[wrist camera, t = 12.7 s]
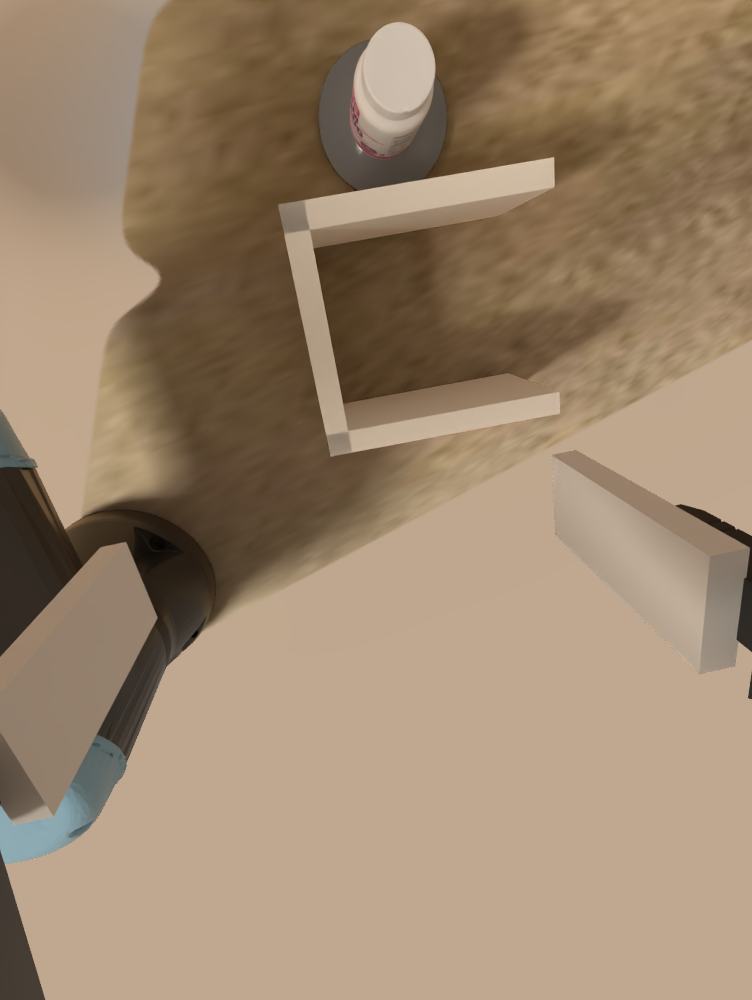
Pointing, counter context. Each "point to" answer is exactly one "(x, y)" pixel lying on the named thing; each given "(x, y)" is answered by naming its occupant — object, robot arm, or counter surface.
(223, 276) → the counter surface
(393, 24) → the pill bottle
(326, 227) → the cubby
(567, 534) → the robot arm
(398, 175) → the coaster
